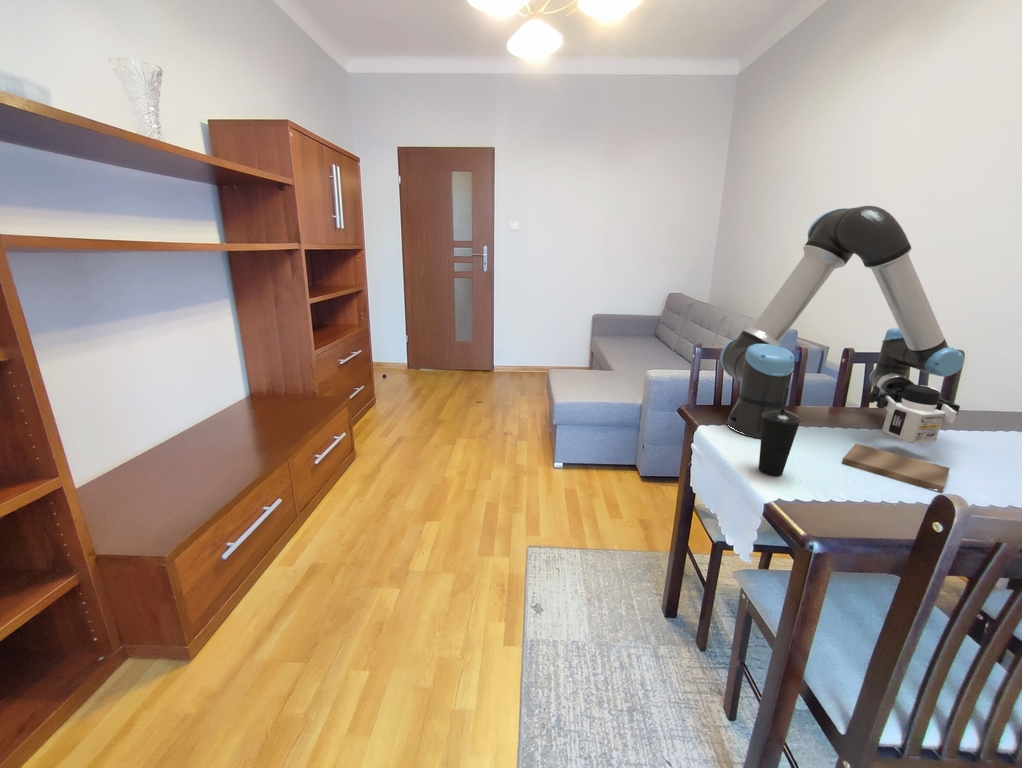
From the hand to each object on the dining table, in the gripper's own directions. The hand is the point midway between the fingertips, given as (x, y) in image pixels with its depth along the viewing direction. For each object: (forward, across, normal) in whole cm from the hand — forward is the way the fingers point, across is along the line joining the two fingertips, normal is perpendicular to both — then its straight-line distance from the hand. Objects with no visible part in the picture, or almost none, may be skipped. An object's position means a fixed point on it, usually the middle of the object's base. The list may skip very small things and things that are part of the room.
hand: (922, 412), depth 109 cm
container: (-4, 0, -8) cm, 9 cm away
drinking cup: (+24, +30, -13) cm, 41 cm away
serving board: (+8, +4, -12) cm, 15 cm away
